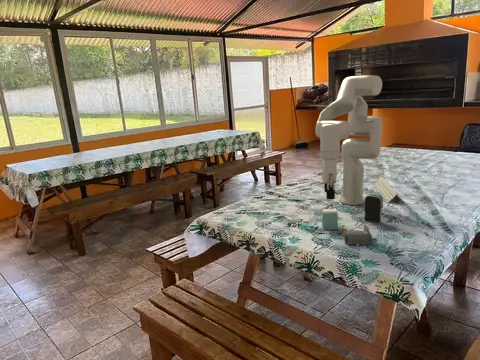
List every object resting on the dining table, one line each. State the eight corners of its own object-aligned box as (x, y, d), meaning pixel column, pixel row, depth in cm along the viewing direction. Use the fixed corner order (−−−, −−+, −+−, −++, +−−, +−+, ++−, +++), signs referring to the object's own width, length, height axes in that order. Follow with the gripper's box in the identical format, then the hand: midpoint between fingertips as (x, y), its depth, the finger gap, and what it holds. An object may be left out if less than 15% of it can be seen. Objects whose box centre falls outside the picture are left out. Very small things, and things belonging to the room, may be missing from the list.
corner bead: (405, 203, 171) (406, 193, 170) (386, 203, 173) (387, 194, 171) (389, 185, 201) (389, 176, 199) (373, 185, 202) (373, 176, 201)
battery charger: (383, 220, 152) (384, 195, 149) (379, 223, 149) (380, 197, 146) (367, 217, 157) (368, 192, 154) (363, 220, 154) (364, 195, 151)
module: (322, 224, 152) (322, 208, 150) (336, 224, 151) (336, 208, 149) (322, 229, 148) (322, 212, 146) (337, 229, 147) (337, 212, 145)
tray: (341, 232, 143) (341, 224, 142) (366, 232, 142) (366, 224, 140) (345, 243, 134) (345, 234, 133) (371, 244, 132) (371, 234, 131)
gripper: (319, 150, 150) (318, 189, 154) (321, 159, 133) (321, 202, 138) (337, 150, 149) (336, 189, 153) (342, 158, 132) (341, 202, 136)
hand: (329, 195), depth 145 cm, fingers open, 9 cm apart
